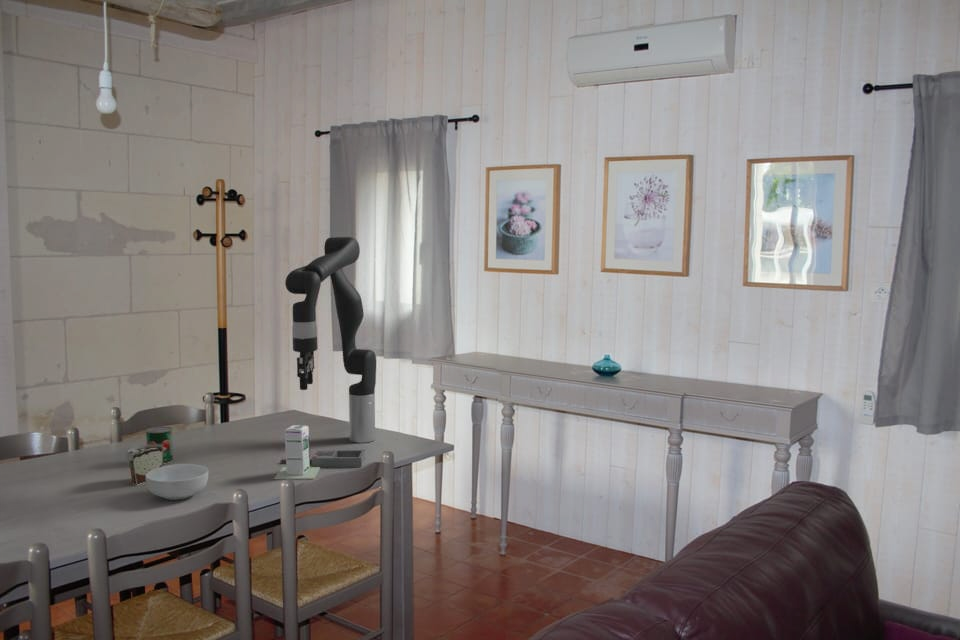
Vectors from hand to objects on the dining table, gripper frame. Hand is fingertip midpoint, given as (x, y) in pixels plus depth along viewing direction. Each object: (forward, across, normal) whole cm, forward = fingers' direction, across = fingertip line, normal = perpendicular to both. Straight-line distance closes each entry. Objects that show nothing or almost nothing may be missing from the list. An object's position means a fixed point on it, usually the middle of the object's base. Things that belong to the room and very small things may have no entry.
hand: (306, 386), depth 257 cm
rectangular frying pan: (+27, -9, +2) cm, 29 cm away
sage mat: (+27, +3, -3) cm, 27 cm away
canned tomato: (+27, -10, -51) cm, 59 cm away
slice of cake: (+27, +10, -49) cm, 57 cm away
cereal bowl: (+27, +24, -33) cm, 49 cm away
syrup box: (+27, +3, -3) cm, 27 cm away
